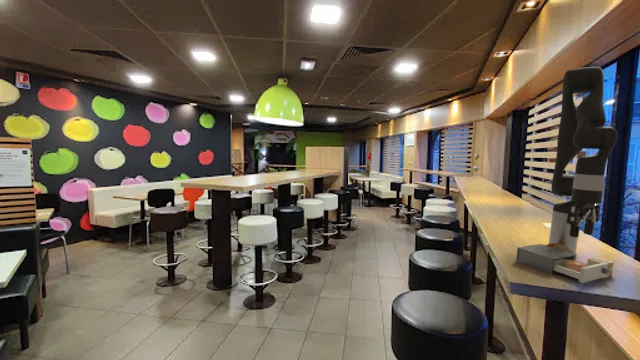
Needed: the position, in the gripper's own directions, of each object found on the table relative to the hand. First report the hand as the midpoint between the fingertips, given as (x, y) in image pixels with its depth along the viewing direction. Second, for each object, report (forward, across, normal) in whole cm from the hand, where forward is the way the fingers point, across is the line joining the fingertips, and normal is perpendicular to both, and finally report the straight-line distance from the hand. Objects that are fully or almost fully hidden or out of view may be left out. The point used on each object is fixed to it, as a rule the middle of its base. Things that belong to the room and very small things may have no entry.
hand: (581, 235), depth 98 cm
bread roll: (+15, +13, +13) cm, 24 cm away
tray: (+13, 0, 0) cm, 13 cm away
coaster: (+12, 0, 0) cm, 12 cm away
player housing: (+14, 0, +9) cm, 17 cm away
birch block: (+14, +10, -2) cm, 18 cm away
